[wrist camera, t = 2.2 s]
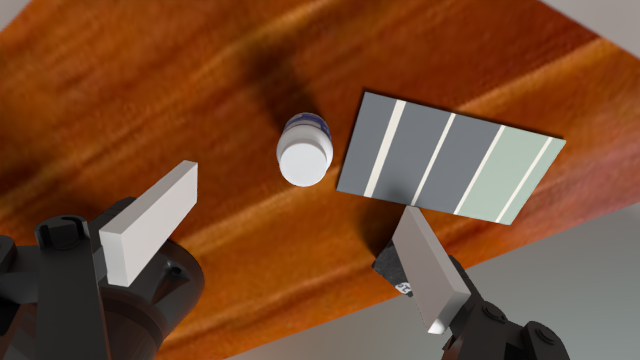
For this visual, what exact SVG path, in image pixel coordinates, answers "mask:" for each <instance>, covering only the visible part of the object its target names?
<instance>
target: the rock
mask: <svg viewBox="0 0 640 360" xmlns="http://www.w3.org/2000/svg"><path fill="white" fill-rule="evenodd" d="M372 268H373V269H374V270H375V271H376V272H377V273H379V274H380V275H382V276H383V277H384V278H385V279H386V280H387V281H388V282H390V283H391V284H392V285H393V286H394V287H395V288H397V289H398V290H399V291H400V292H402V293H403V294H406V295H408V296H409V297H412V296H413V293H412V290H411V287H410V285H409V282H408V280H407V277H406V274H405V272H404V269H403V266H402V264H401V261H400V258H399V256H398V253H397V251H396V248H395V245H394V243H393V240H392V239H391V240H390V241H389V242H388V243H387V244H386V245H385V247H384V248H383V250H382V251H381V252H380V254H379V255H378V256H377V258H376V260H375V261H374V262H373V264H372Z"/></svg>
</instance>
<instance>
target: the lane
mask: <svg viewBox="0 0 640 360" xmlns="http://www.w3.org/2000/svg"><path fill="white" fill-rule="evenodd" d="M565 143H566V141H565V140H562V139H557V138H553V137H549V136H545V135H541V134H537V133H533V132H529V131H525V130H521V129H517V128H512V127H508V126H504V125H500V124H496V123H492V122H488V121H484V120H480V119H476V118H472V117H467V116H463V115H459V114H455V113H451V112H447V111H443V110H439V109H435V108H431V107H426V106H422V105H418V104H414V103H410V102H406V101H402V100H398V99H394V98H390V97H386V96H381V95H377V94H373V93H369V92H365V93H364V96H363V100H362V103H361V107H360V110H359V113H358V117H357V120H356V124H355V127H354V130H353V134H352V137H351V141H350V144H349V147H348V151H347V154H346V158H345V161H344V165H343V168H342V171H341V175H340V178H339V182H338V185H337V188H336V191H341V192H346V193H351V194H356V195H361V196H366V197H371V198H376V199H381V200H386V201H391V202H396V203H401V204H406V205H411V206H416V207H421V208H426V209H431V210H437V211H442V212H447V213H452V214H457V215H462V216H467V217H472V218H477V219H482V220H487V221H492V222H497V223H502V224H507V225H510V224H511V223H512V221H513V220H514V218H515V217H516V215H517V214H518V212H519V211H520V209H521V208H522V206H523V205H524V204H525V202H526V201H527V199H528V198H529V196H530V195H531V193H532V192H533V190H534V189H535V187H536V186H537V184H538V183H539V181H540V180H541V178H542V177H543V175H544V174H545V172H546V171H547V169H548V168H549V167H550V165H551V164H552V162H553V161H554V159H555V158H556V156H557V155H558V153H559V152H560V150H561V149H562V147H563V146H564V144H565Z"/></svg>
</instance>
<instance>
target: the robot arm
mask: <svg viewBox="0 0 640 360" xmlns="http://www.w3.org/2000/svg"><path fill="white" fill-rule="evenodd" d="M196 202H197V163H195V162H191V161H186V160H184V161H183V162H181V163H180V164H179V165H178V166H177V167H175V168H174V169H173V170H172V171H170V172H169V173H168V174H167V175H166V176H164V177H163V178H162V179H161V180H160V181H158V182H157V183H156V184H155V185H153V186H152V187H151V188H150V189H149V190H147V191H146V192H145V193H144V194H143V195H141V196H140V197H139V198H135V197H127V198H125V199H122V200H120V201H117V202H116V203H115V204H113V205H112V206H111V207H110V208H109V209H107V210H106V211H104V212H103V213H102V215H101V214H100V215H99V216H98V217H96V218H95V219H94V220H92V221H91V222H90V223H88V224H87V221H86V220H85V218H84V217H81V216H79V215H60V216H56V217H52V218H49V219H47V220H45V221H42V222H41V223H40V224H38V225H37V226H36V228H35V230H34V233H35V236H36V239H37V242H38V245H32V246H16V245H15V243H14V240H13V239H12V238H11V237H8V236H4V235H0V360H154V358H155V355H156V353H157V352H158V350H159V348H160V346H161V344H162V342H163V341H164V339H165V338H166V337H167V336H168V335H169V334H170V333H171V332H172V331H173V330H174V329H175V327H176V326H177V325H178V324H179V323H180V322H181V321H182V320H183V319H184V318H185V317H186V316H187V315H188V314H189V313H190V312H191V311H192V309H193V308H194V307H195V305H196V304H197V302H198V300H199V298H200V296H201V293H202V291H203V289H204V275H203V272H202V270H201V268H200V266H199V265H198V263H197V262H196V261H195V259H194V258H193V257H192V256H191V255H190V254H189V253H187V252H186V251H185V250H183V249H182V248H180V247H179V246H177V245H175V244H173V243H171V242H169V241H167V240H166V239H167V238H168V237H169V236H170V234H171V233H172V232H173V231H174V229H175V228H176V227H177V226H178V224H179V223H180V222H181V221H182V220H183V218H184V217H185V216H186V215H187V213H188V212H189V211H190V210H191V208H192V207H193V206H194V205H195V203H196ZM392 240H393V243H394V245H395V248H396V251H397V253H398V256H399V258H400V261H401V264H402V266H403V269H404V272H405V274H406V277H407V280H408V282H409V285H410V287H411V290H412V293H413V295H414V298H415V301H416V303H417V306H418V308H419V311H420V314H421V316H422V319H423V321H424V324H425V327H426V329H427V332H429V333H436V334H444V332H445V331H446V329H447V328H448V327H450V329H451V331H452V333H453V335H452V336H451V337H450V339H449V340H448V341H447V343H446V344H445V346H444V347H443V348H442V349H443V350H444V354H443V356H442V359H441V360H570V358H569V356H568V353H567V351H566V349H565V346H564V344H563V343H562V341H561V339H560V338H559V337H558V336H557V335H556V334H555V333H554V332H553V331H552V330H551V329H549V328H548V327H546V326H544V325H542V324H541V323H538V322H535V321H529V322H528V323H527V324H526V325H525V326H524V327H522V326H520V325H518V324H515V323H513V322H511V321H508V319H507V318H506V316H505V314H504V313H503V312H502V311H501V310H500V309H499V308H498V307H496V306H495V305H493V304H492V303H490V302H488V301H484V300H483V298H482V297H481V295H480V294H479V292H478V291H477V289H476V287H475V286H474V284H473V283H472V281H471V280H470V279H469V277H468V275H467V274H466V272H465V270H464V269H463V267H462V266H461V264H460V263H459V262H458V261H457V260H456V259H455V258H454V257H453V256H452V255H447V254H446V252H445V251H444V249H443V247H442V246H441V244H440V242H439V241H438V239H437V238H436V236H435V234H434V233H433V231H432V229H431V228H430V226H429V225H428V223H427V221H426V220H425V218H424V217H423V215H422V213H421V212H420V210H419V208H417V207H412V206H408V205H407V206H406V208H405V211H404V213H403V215H402V217H401V219H400V222H399V224H398V226H397V228H396V231H395V233H394V235H393V237H392Z"/></svg>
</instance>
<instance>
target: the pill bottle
mask: <svg viewBox="0 0 640 360" xmlns="http://www.w3.org/2000/svg"><path fill="white" fill-rule="evenodd" d="M332 156H333V149H332V143H331V137H330V131H329V128H328V126H327V124H326V122H325V121H324V120H323V119H322V118H321V117H319V116H317V115H315V114H312V113H300V114H297V115H295V116H294V117H292V118H291V119H290V120H289V121H288V122H287V124H286V126H285V128H284V131H283V133H282V135H281V138H280V140H279V142H278V146H277V159H278V162H279V164H280V170H281V172H282V174H283V176H284V177H285V178H286V179H287V180H288V181H289V182H290V183H292V184H294V185H298V186H310V185H313V184H315V183H317V182H318V181H320V180H321V179H322V178H323V176H324V175H325V172H326V170H327V169H328V167H329V165H330V163H331V161H332Z"/></svg>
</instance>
